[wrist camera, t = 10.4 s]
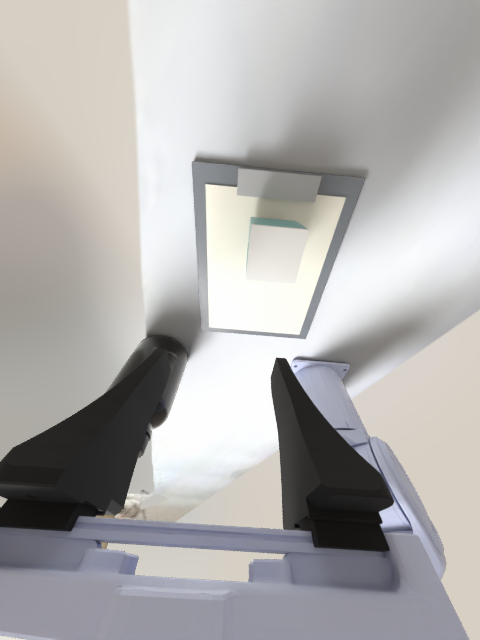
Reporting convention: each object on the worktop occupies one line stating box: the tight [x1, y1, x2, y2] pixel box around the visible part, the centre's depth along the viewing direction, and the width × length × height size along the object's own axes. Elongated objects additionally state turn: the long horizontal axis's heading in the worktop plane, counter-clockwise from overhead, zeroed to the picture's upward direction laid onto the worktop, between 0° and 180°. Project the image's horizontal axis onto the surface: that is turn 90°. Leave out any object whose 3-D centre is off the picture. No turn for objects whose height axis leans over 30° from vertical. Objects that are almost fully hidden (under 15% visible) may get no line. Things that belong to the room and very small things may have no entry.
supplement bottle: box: [107, 336, 187, 458], centre depth 21 cm, size 7×7×12 cm
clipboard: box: [192, 161, 365, 339], centre depth 18 cm, size 16×13×1 cm
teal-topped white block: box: [246, 217, 310, 284], centre depth 14 cm, size 4×4×5 cm
